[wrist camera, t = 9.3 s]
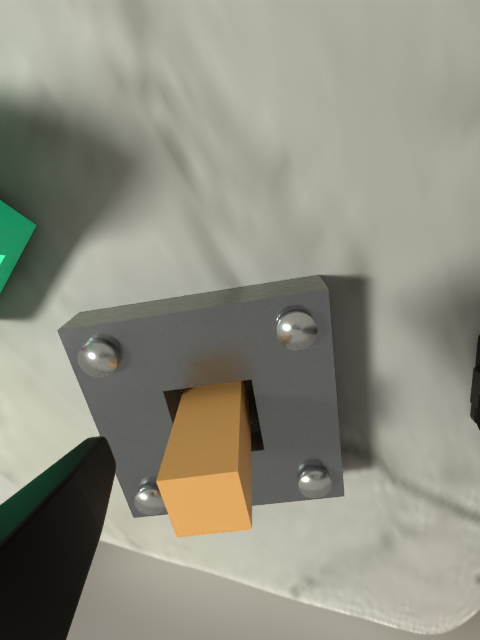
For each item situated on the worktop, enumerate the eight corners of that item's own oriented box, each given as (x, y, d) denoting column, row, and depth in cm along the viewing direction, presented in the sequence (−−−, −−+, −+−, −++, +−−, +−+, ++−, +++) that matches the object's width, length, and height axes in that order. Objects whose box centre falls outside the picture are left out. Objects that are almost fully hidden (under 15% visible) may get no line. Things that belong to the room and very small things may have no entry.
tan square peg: (241, 370, 22) (237, 471, 14) (250, 415, 23) (252, 529, 16) (186, 378, 22) (156, 481, 15) (199, 422, 23) (176, 537, 16)
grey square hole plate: (319, 274, 19) (331, 292, 16) (335, 465, 25) (346, 504, 22) (78, 312, 20) (51, 335, 18) (143, 486, 26) (130, 526, 23)
